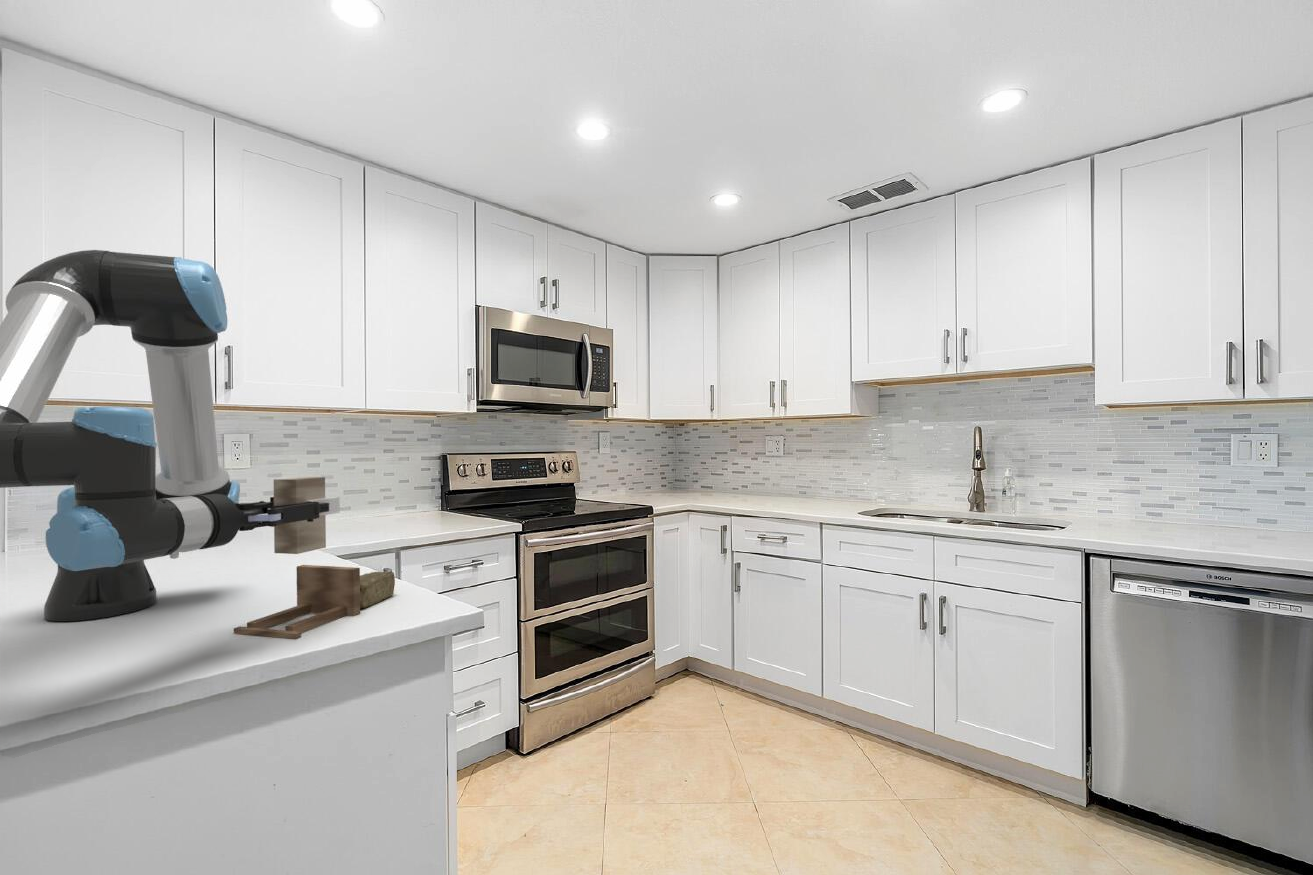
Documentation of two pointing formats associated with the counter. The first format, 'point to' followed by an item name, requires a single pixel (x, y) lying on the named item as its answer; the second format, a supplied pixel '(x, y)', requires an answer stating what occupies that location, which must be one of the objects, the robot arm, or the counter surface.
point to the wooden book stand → (313, 602)
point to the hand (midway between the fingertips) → (325, 504)
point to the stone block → (376, 587)
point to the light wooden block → (299, 533)
